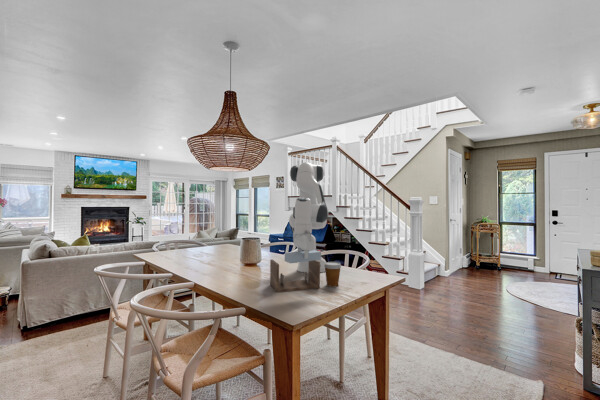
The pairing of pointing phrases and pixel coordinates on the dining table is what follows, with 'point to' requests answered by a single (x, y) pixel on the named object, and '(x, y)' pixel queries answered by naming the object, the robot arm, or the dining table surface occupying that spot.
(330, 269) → the disposable coffee cup
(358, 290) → the dining table surface
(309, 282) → the shelf rack
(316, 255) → the shelf board
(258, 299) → the dining table surface
